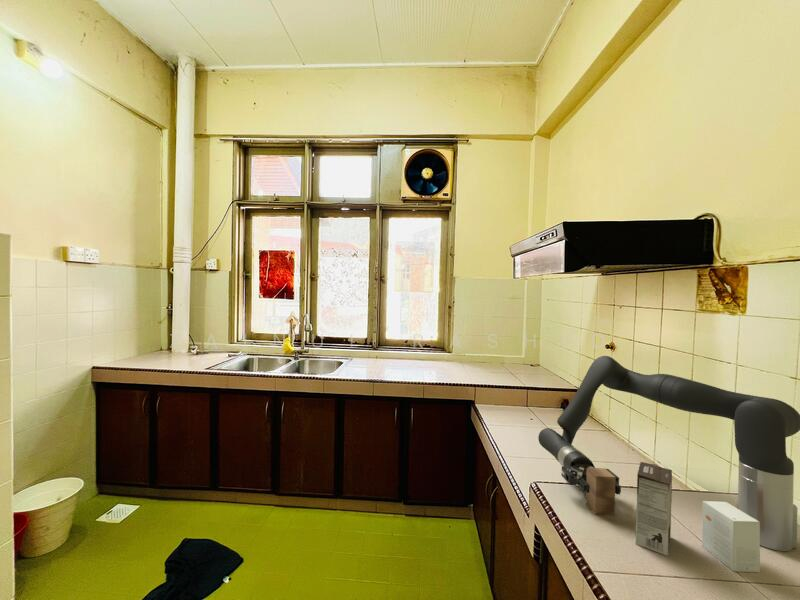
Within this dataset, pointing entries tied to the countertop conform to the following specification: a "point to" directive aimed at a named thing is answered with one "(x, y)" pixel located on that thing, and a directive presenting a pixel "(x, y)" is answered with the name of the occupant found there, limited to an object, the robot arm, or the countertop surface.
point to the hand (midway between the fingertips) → (603, 490)
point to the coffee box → (654, 507)
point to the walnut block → (601, 491)
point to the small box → (731, 536)
